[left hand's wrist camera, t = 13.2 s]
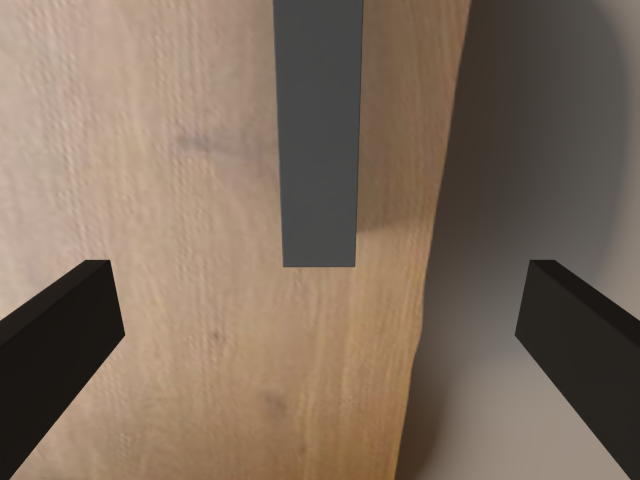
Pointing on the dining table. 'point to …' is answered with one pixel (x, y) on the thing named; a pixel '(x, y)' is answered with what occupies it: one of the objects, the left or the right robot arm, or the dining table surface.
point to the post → (318, 128)
